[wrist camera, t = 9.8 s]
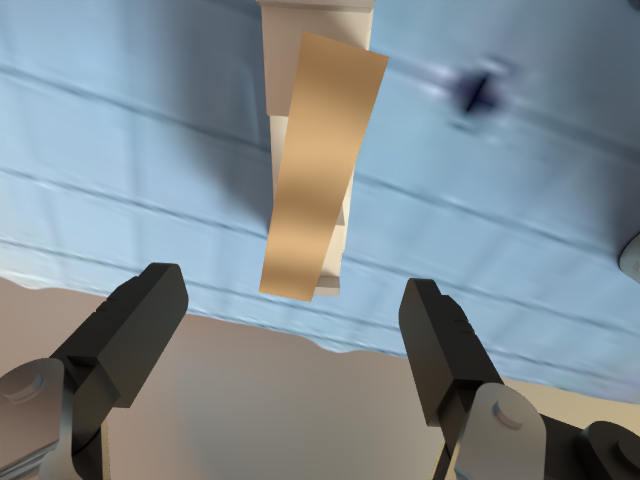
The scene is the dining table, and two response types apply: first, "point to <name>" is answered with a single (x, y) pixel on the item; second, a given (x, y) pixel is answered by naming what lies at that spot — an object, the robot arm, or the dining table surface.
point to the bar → (318, 159)
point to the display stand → (280, 70)
